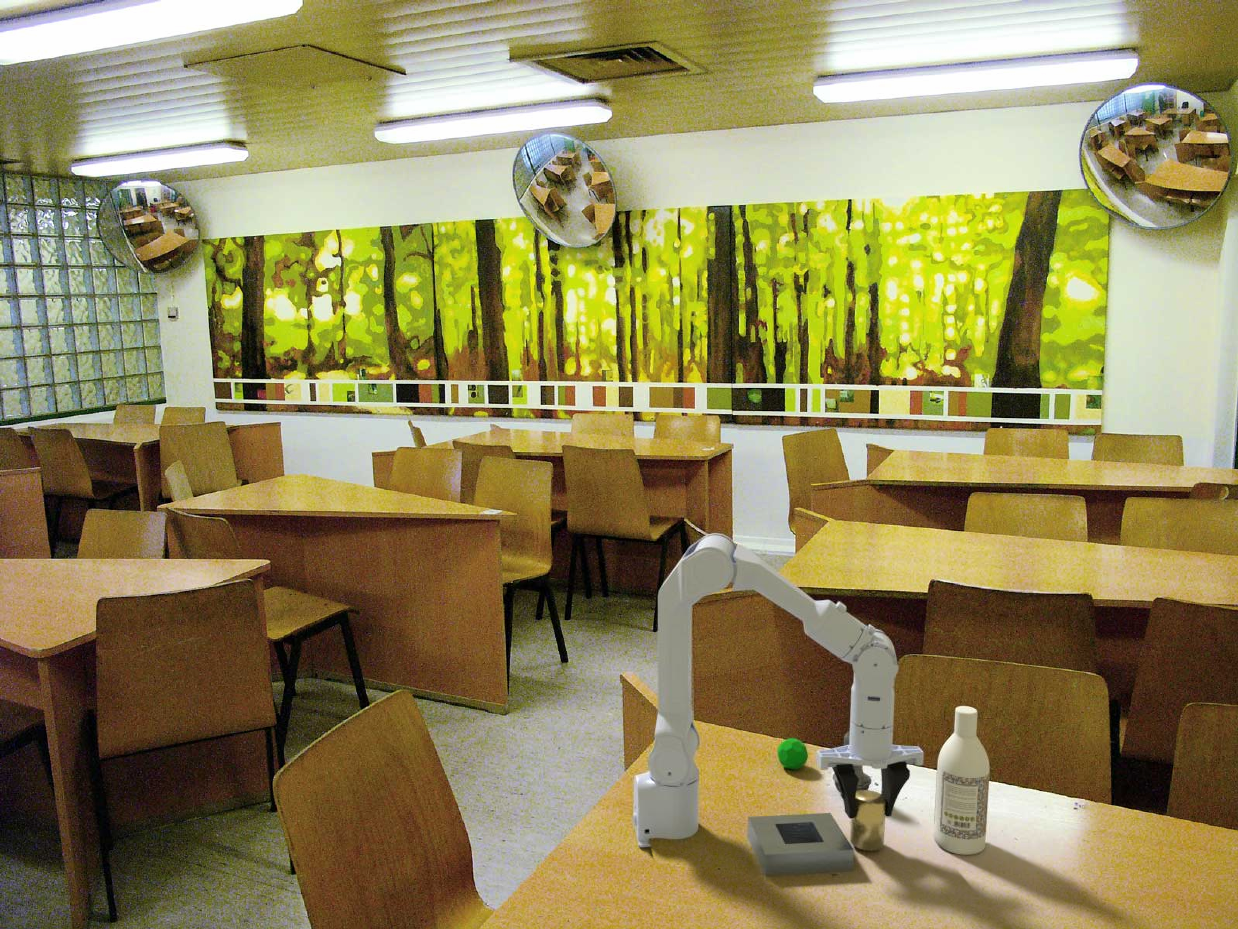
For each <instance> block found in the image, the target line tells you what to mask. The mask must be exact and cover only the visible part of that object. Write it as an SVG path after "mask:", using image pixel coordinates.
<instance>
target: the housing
mask: <svg viewBox="0 0 1238 929" xmlns="http://www.w3.org/2000/svg"><path fill="white" fill-rule="evenodd" d="M747 839H748V842H749V844H750V845H751V848H752V850H753V853H754V855H755V857H756V860H757V862H758V864H759V866H760V869H761V870H762V873H763V875H764V877H774V876H791V875H806V874H807V875H809V874H827V873H829V874H830V873H844V872H847V873H848V872H854V861H855V860H854V857H855V856H854V855H855V853H854V852H855V849H854V848H853V846H852V845H851V842H850V841H849V840H848V838H847V837H846V835H845V834H844V832H843V831H842V829H841V827H840V826H839V824H838V823H837V821H836V819H835V818H834V817H833V814H832V813H831V812H823V813H821V812H819V813H800V814H799V813H798V814H797V813H796V814H783V815H782V814H780V815H764V816H763V815H760V816H758V815H757V816H748V817H747Z"/></svg>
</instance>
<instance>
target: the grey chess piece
mask: <svg viewBox="0 0 1238 929" xmlns="http://www.w3.org/2000/svg"><path fill="white" fill-rule="evenodd" d="M849 740H850V731H847V732H846V733H845V734H844V736H843V746H846V745H849ZM863 767H864V766H853V769H855V774H856V775H857V777H858V778H859V781H858V785H857V790H856V791H860V790H870V789H869V788H870V786H871V784H872V777H870V776H869V775H868V774H867V773H866V772H864V770H863ZM832 779H833V781H834V785H835V788H836V790H837V791H838V792H839V794H841V795H842V792H841V789H840V786H839V783H838V780H837V778H836V775H835V773H833V774H832Z"/></svg>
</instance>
